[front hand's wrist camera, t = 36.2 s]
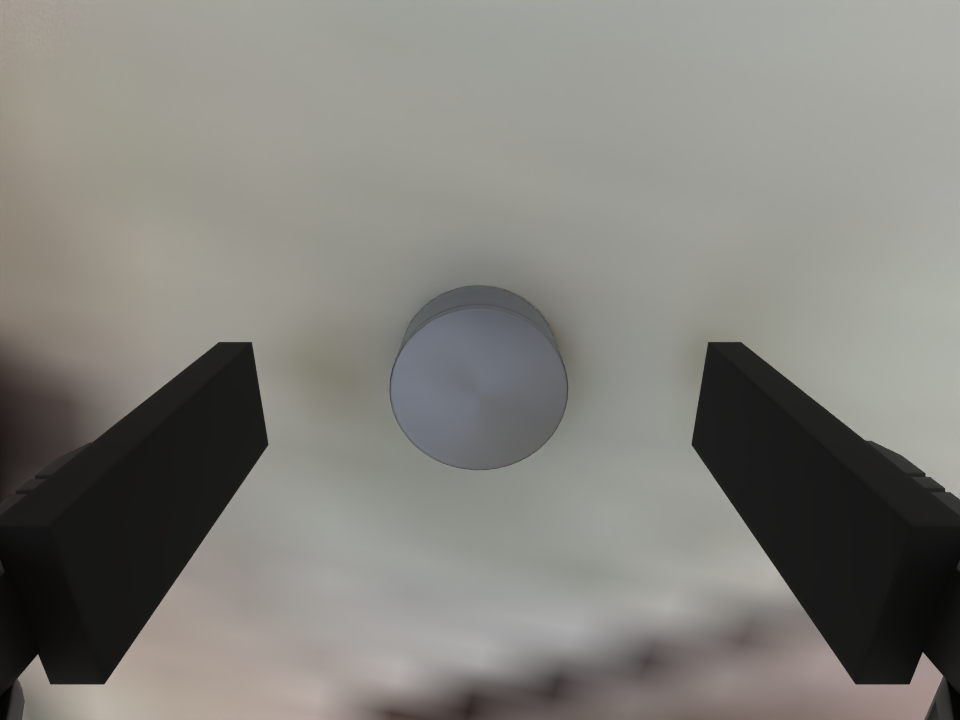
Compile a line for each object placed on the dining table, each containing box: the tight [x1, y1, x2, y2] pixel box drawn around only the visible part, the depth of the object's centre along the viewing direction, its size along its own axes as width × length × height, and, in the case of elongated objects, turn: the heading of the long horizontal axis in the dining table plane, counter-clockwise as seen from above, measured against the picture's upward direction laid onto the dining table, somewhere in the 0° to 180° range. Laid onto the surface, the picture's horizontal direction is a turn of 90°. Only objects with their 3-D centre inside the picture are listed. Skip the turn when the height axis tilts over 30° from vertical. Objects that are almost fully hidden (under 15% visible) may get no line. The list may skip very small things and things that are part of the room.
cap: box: [390, 286, 568, 470], centre depth 14 cm, size 4×4×2 cm
